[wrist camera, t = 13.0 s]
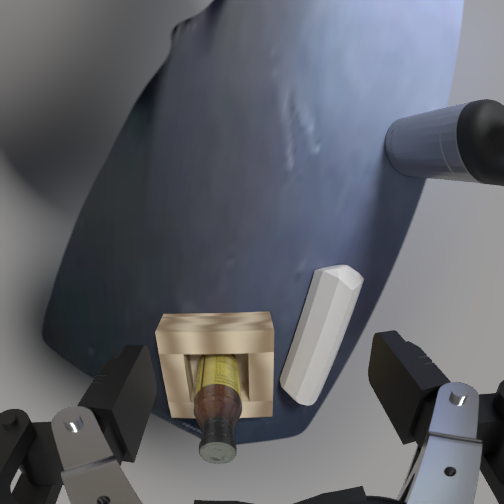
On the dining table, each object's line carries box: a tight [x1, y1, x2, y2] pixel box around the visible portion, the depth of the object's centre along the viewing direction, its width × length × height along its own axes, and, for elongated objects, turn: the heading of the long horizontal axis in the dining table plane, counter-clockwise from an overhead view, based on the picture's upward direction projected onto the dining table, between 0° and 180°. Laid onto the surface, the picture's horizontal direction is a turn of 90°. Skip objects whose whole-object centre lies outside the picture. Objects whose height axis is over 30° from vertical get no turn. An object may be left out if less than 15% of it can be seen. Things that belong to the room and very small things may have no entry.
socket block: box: [155, 312, 274, 418], centre depth 46 cm, size 16×16×6 cm
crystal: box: [280, 265, 364, 406], centre depth 47 cm, size 7×7×24 cm
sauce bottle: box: [194, 354, 242, 464], centre depth 39 cm, size 7×6×20 cm
